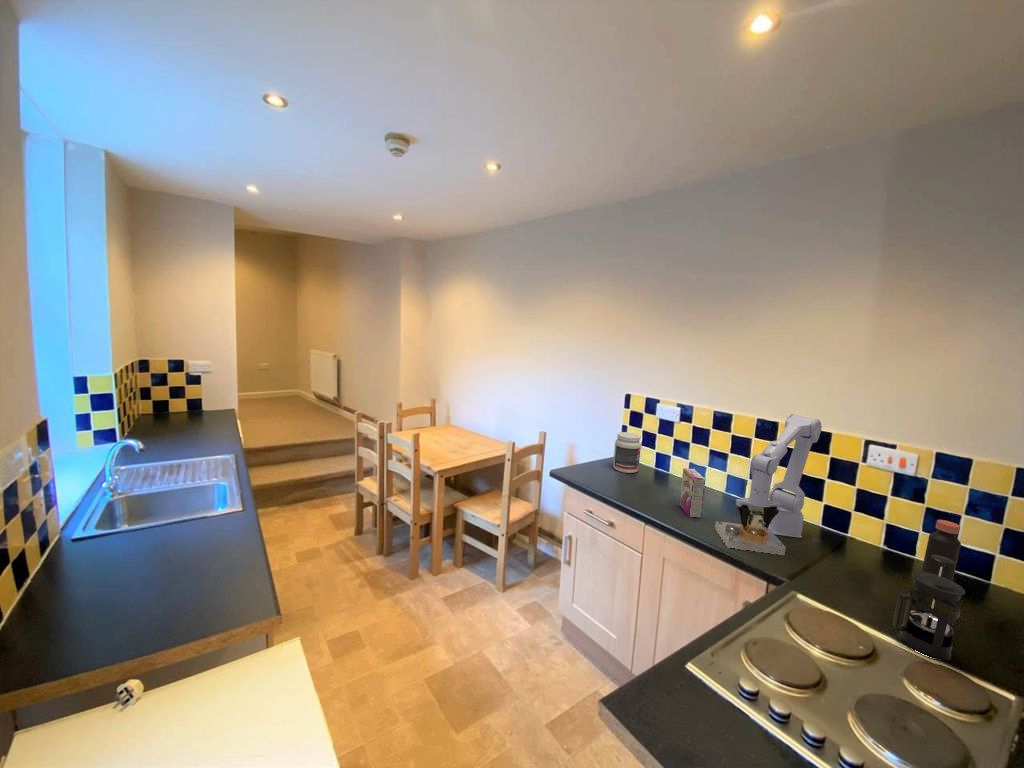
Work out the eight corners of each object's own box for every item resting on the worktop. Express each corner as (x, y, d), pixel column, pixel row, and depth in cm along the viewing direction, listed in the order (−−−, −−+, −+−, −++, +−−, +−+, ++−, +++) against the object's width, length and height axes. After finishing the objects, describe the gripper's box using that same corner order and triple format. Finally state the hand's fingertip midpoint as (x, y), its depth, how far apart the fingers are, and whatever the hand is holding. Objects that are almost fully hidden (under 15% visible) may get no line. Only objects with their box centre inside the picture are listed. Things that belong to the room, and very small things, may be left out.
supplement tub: (642, 474, 213) (646, 438, 210) (618, 474, 211) (621, 438, 208) (632, 465, 226) (635, 431, 223) (609, 465, 224) (612, 431, 221)
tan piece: (755, 530, 153) (758, 508, 151) (769, 541, 145) (773, 517, 144) (742, 529, 152) (745, 507, 151) (755, 540, 145) (758, 517, 144)
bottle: (914, 579, 132) (927, 519, 129) (927, 576, 135) (940, 517, 132) (942, 593, 126) (957, 530, 123) (955, 589, 128) (970, 527, 125)
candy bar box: (678, 505, 178) (682, 467, 175) (690, 506, 178) (694, 468, 175) (688, 517, 167) (693, 477, 164) (701, 518, 167) (706, 478, 164)
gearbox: (766, 535, 156) (768, 523, 155) (784, 555, 142) (786, 543, 141) (714, 528, 159) (716, 517, 158) (727, 548, 145) (728, 535, 144)
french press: (940, 639, 106) (960, 554, 103) (964, 667, 97) (987, 575, 94) (882, 625, 110) (899, 542, 107) (900, 650, 101) (920, 561, 98)
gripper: (773, 485, 151) (768, 521, 153) (733, 483, 151) (728, 519, 153) (786, 493, 144) (780, 531, 146) (744, 491, 144) (738, 529, 146)
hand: (754, 526), depth 149 cm, fingers open, 7 cm apart
